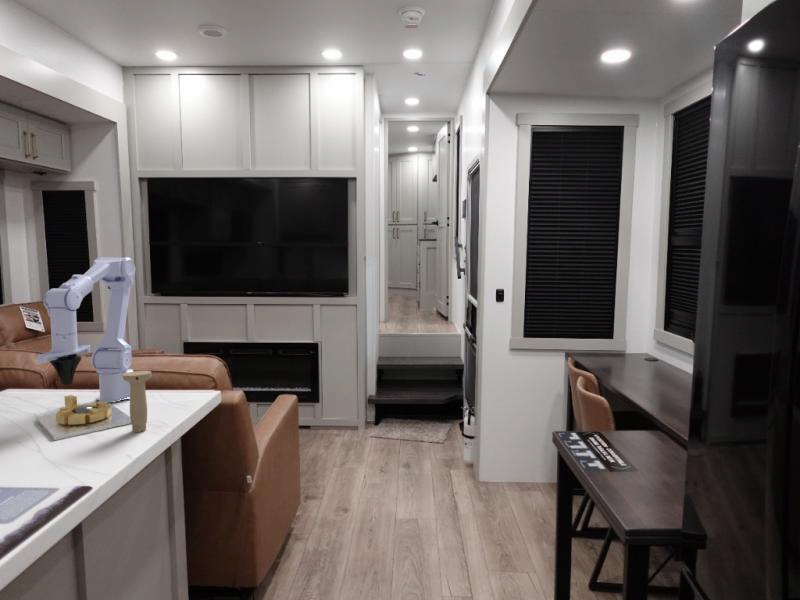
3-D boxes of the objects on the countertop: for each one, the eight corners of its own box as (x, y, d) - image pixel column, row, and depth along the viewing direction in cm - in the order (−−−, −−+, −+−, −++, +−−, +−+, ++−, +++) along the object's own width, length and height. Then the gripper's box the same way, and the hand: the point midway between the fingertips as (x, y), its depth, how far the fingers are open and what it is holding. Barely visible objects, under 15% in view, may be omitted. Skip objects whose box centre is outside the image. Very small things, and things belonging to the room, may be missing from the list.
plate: (110, 406, 148) (109, 393, 148) (134, 422, 134) (133, 408, 134) (36, 420, 135) (35, 406, 135) (54, 440, 121) (53, 424, 121)
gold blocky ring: (119, 414, 137) (119, 397, 136) (73, 427, 126) (72, 409, 126) (90, 406, 144) (89, 390, 143) (44, 418, 133) (43, 401, 133)
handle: (153, 431, 128) (151, 374, 126) (124, 435, 125) (122, 376, 124) (153, 425, 132) (151, 370, 131) (125, 429, 129) (123, 372, 128)
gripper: (74, 328, 140) (77, 376, 141) (26, 337, 126) (29, 390, 127) (96, 330, 139) (98, 378, 140) (49, 338, 125) (52, 391, 126)
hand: (66, 383), depth 134 cm, fingers closed
